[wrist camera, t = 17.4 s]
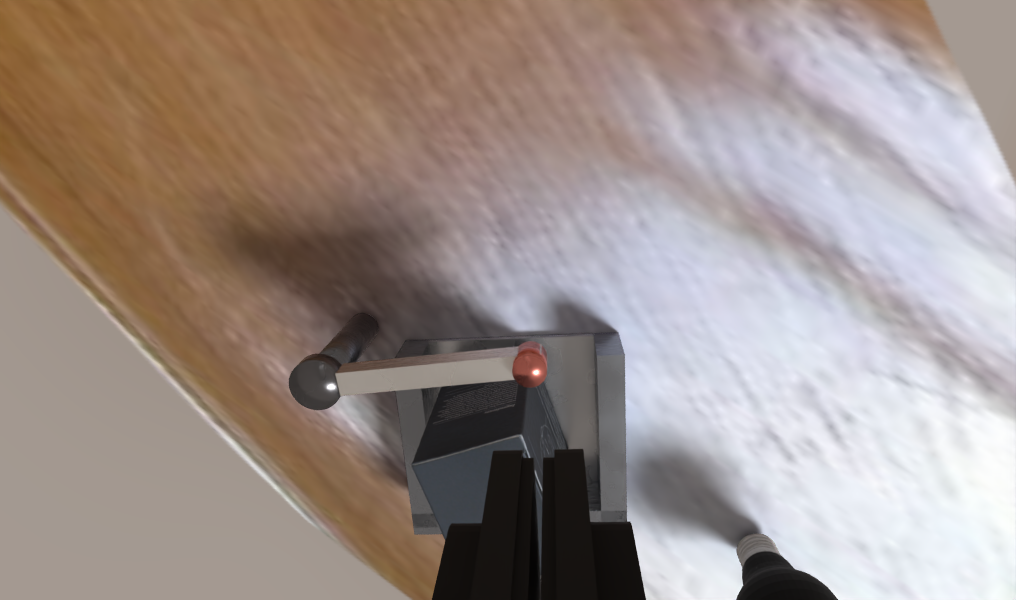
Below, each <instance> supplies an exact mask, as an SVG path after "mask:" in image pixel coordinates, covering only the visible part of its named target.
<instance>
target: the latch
mask: <svg viewBox="0 0 1016 600" xmlns="http://www.w3.org/2000/svg"><path fill="white" fill-rule="evenodd" d="M546 375H547V352H546V350H545V348H544V347H543V346H542V344H539V343H537V342H533V341H528V342H524V343H522V344H521V345H519V346H516V347H506V348H496V349H486V350H476V351H466V352H455V353H445V354H435V355H425V356H415V357H405V358H395V359H384V360H374V361H364V362H354V363H344V364H341V363H340V362H339V361H338V360H336V359H335V358H333V357H331V356H329V355H326V354H312V355H309V356H307V357H306V358H304V359H303V360H302V361H301V362H300V363H299V364H298V365H297V366H296V367H295V368H294V370H293V371H292V373H291V375H290V378H289V388H290V391H291V394H292V395H293V397H294V398H295V400H296V401H297V402H298V403H300V404H301V405H303V406H304V407H306V408H309V409H313V410H324V409H327V408H329V407H331V406H333V405H334V404H335V403H336V402H337V401H338V399H339V398H340V396H345V395H356V394H366V393H377V392H388V391H399V390H409V389H420V388H431V387H442V386H452V385H463V384H474V383H485V382H495V381H506V380H515V381H516V382H517V383H518V384H520V385H521V386H524V387H528V388H532V387H536V386H538V385H540V384H541V383H542V382H543V381H544V380H545V378H546Z"/></svg>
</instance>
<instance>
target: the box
mask: <svg viewBox="0 0 1016 600" xmlns="http://www.w3.org/2000/svg"><path fill="white" fill-rule="evenodd" d="M554 449H568V446H567V444H566V441H565V438H564V436H563V432H562V430H561V427H560V424H559V421H558V418H557V416H556V413H555V410H554V408H553V405H552V402H551V400H550V397H549V394H548V391H547V388H546V386H545V383H544V381H543V382H542V383H541V384H540V385H538V386H536V387H532V388H528V387H524V386H521V385H520V384H518V383H517V382H516V381H515V380H506V381H495V382H485V383H474V384H463V385H452V386H442V387H441V389H440V392H439V394H438V397H437V400H436V402H435V405H434V407H433V410H432V413H431V415H430V417H429V420H428V423H427V425H426V428H425V430H424V433H423V436H422V438H421V441H420V444H419V447H418V449H417V451H416V454H415V457H414V460H413V462H412V464H411V465H412V469H413V471H414V473H415V475H416V477H417V479H418V481H419V484H420V486H421V488H422V490H423V492H424V494H425V497H426V499H427V501H428V503H429V505H430V508H431V510H432V512H433V514H434V516H435V519H436V521H437V523H438V525H439V527H440V530H441V532H442V534H443V536H444V538H445V541H446V536H447V532H448V529H449V526H450V525H451V523H482V518H483V512H484V505H485V499H486V492H487V486H488V479H489V473H490V466H491V460H492V454H493V451H494V450H522V451H523V458H534V464H535V482H536V500H537V519H538V537H539V555H540V573H541V546H542V487H543V457H554Z"/></svg>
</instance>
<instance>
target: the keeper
mask: <svg viewBox="0 0 1016 600" xmlns="http://www.w3.org/2000/svg"><path fill="white" fill-rule="evenodd" d="M377 333H378V324H377V321H376V320H375V319H374V318H373V317H372V316H371V315H369V314H365V313H360V314H357V315H355V316H354V317H353V318H352V319H351V320H350V321H349V322H348V323H347V324H346V325H345V326H344V327H343V329H342V330H341V331H340V332H339V333H338V334H337V335H336V336H335V337H334V338H333V339H332V341H331V342H330V343H329V344H328V345H327V346H326V347H325V348H324V349H323V350H322V351H321V353H320V354H326V355H329V356H331V357H333V358H335V359H336V360H338V361H339V362H340V363H341V364H344V363H354V362H357V360H358V359H359V358H360V356H361V355H362V354H363V352H364V351H365V350H366V348H367V347H368V346H369V344H370V343H371V342H372V340H373V339H374V338H375V336H376V335H377ZM528 341H533V342H537V343H539V344H542V346H543V347H544V348H545V350H546V352H547V375H546V378H545V380H544V383H545V386H546V388H547V391H548V394H549V397H550V400H551V402H552V405H553V408H554V410H555V413H556V416H557V418H558V421H559V424H560V427H561V430H562V432H563V436H564V438H565V441H566V444H567V446H568V449H583V450H584V460H585V470H586V481H587V491H588V502H589V512H590V522H627V499H626V419H625V354H624V351H623V347H622V344H621V340H620V337H619V333H618V332H617V333H591V334H565V335H540V336H514V337H488V338H462V339H436V340H410V341H405V343H404V344H403V346H402V348H401V349H400V351H399V352H398V354H397V356H396V357H395V358H405V357H415V356H425V355H435V354H445V353H455V352H466V351H476V350H486V349H496V348H506V347H516V346H519V345H521V344H522V343H524V342H528ZM440 389H441V387H431V388H420V389H409V390H399V391H396V398H397V406H398V413H399V421H400V428H401V436H402V443H403V451H404V459H405V466H406V474H407V481H408V489H409V496H410V504H411V511H412V519H413V526H414V534H442V532H441V530H440V527H439V525H438V523H437V521H436V519H435V516H434V514H433V512H432V510H431V508H430V505H429V503H428V501H427V499H426V497H425V494H424V492H423V490H422V488H421V486H420V484H419V481H418V479H417V477H416V475H415V473H414V471H413V469H412V465H411V464H412V462H413V460H414V457H415V454H416V451H417V449H418V447H419V444H420V441H421V438H422V436H423V433H424V430H425V428H426V425H427V423H428V420H429V417H430V415H431V413H432V410H433V407H434V405H435V402H436V400H437V397H438V394H439V392H440Z"/></svg>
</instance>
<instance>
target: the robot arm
mask: <svg viewBox="0 0 1016 600" xmlns="http://www.w3.org/2000/svg"><path fill="white" fill-rule="evenodd" d="M432 600H646V598H645V592H644V587H643V582H642V577H641V571H640V566H639V561H638V555H637V550H636V545H635V540H634V534H633V529H632V525H631V523H630V522H590V512H589V502H588V491H587V481H586V470H585V460H584V450H583V449H554V457H543V487H542V546H541V573H540V555H539V537H538V519H537V500H536V482H535V464H534V458H523V451H522V450H494V451H493V454H492V460H491V466H490V473H489V479H488V486H487V492H486V499H485V505H484V512H483V518H482V523H451V525H450V526H449V529H448V532H447V536H446V541H445V545H444V550H443V554H442V558H441V563H440V567H439V571H438V576H437V580H436V584H435V589H434V593H433V598H432Z"/></svg>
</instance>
